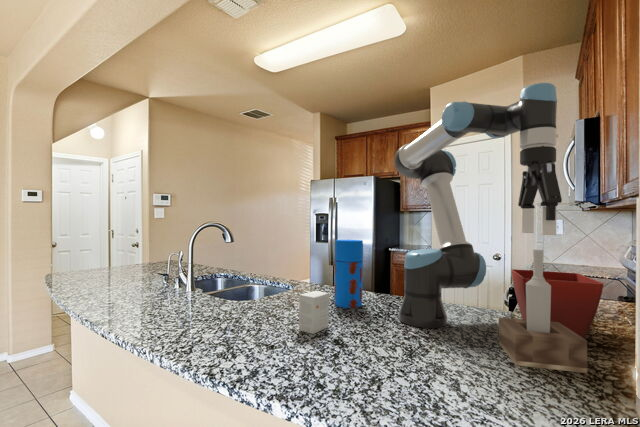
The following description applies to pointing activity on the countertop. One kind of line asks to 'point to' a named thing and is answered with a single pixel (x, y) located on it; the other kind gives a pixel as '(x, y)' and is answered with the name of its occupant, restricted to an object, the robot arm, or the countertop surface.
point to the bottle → (538, 297)
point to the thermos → (348, 273)
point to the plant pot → (564, 298)
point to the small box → (313, 311)
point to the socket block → (543, 346)
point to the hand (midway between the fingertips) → (537, 234)
